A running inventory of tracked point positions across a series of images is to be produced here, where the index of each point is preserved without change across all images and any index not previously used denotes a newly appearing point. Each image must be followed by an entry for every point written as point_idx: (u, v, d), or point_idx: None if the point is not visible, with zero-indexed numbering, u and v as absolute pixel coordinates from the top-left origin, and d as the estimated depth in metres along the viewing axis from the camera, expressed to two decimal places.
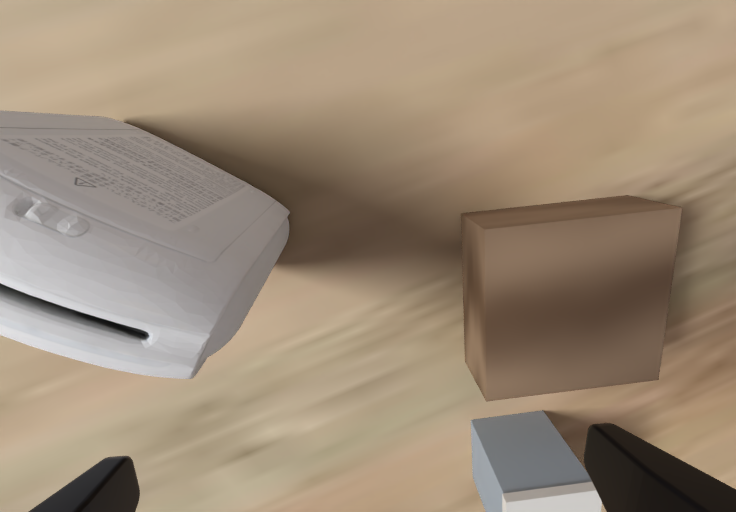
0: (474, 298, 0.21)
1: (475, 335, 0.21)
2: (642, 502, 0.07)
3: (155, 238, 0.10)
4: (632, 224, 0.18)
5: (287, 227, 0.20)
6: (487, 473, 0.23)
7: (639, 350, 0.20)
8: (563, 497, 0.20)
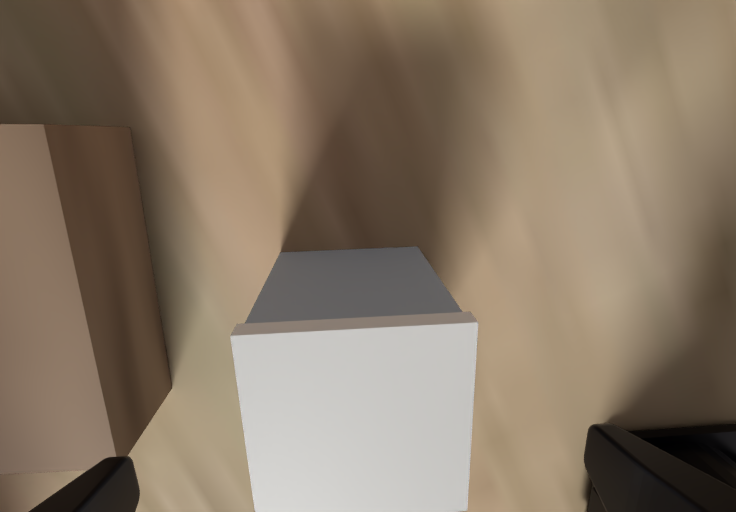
0: None
1: None
2: (642, 502, 0.07)
3: None
4: None
5: None
6: None
7: None
8: (252, 419, 0.08)
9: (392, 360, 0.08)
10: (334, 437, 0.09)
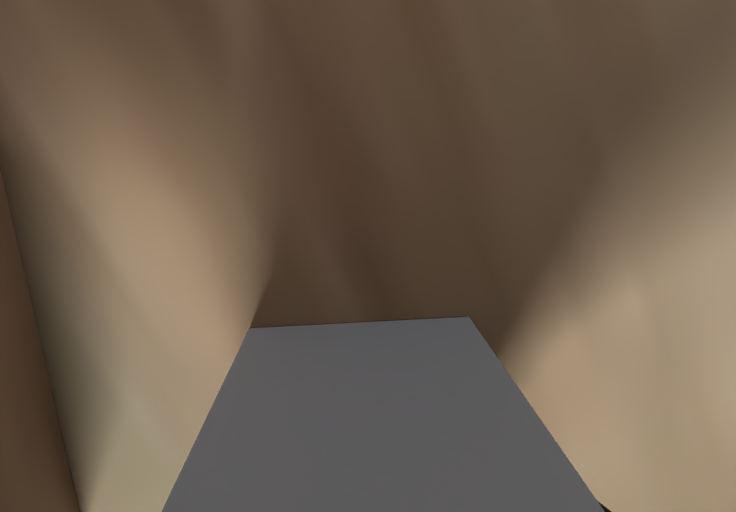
0: None
1: None
2: None
3: None
4: None
5: None
6: None
7: None
8: None
9: None
10: None
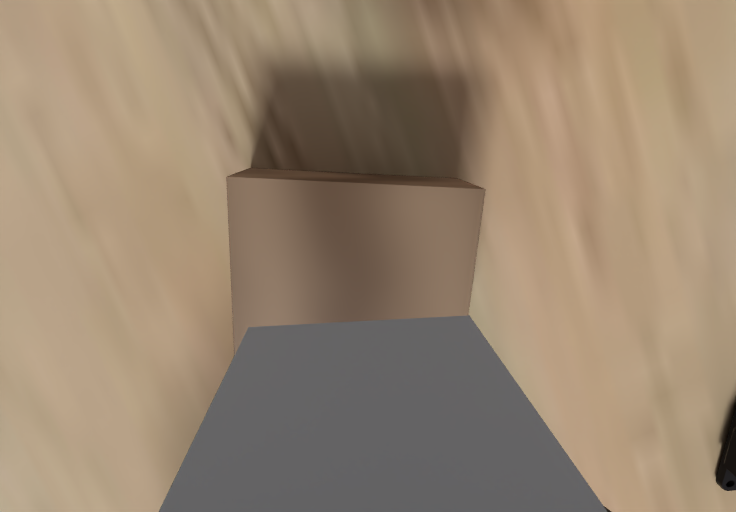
0: None
1: None
2: None
3: None
4: (244, 241, 0.14)
5: None
6: None
7: (429, 220, 0.15)
8: None
9: None
10: None
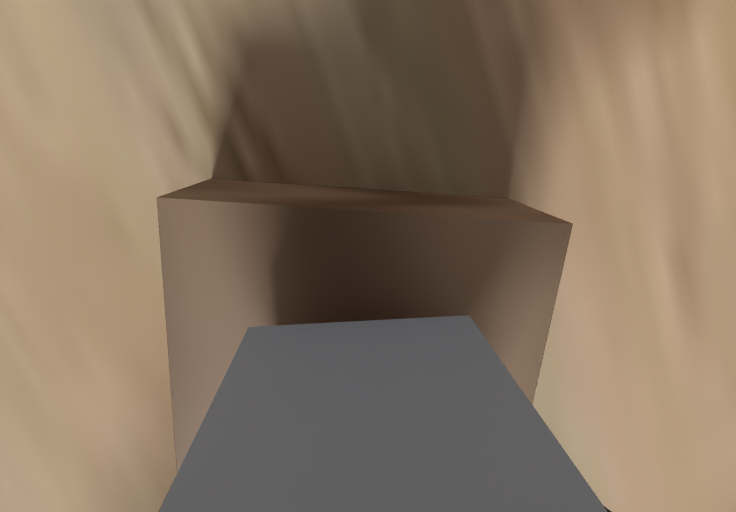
0: None
1: None
2: None
3: None
4: (188, 299, 0.09)
5: None
6: None
7: (482, 270, 0.09)
8: None
9: None
10: None
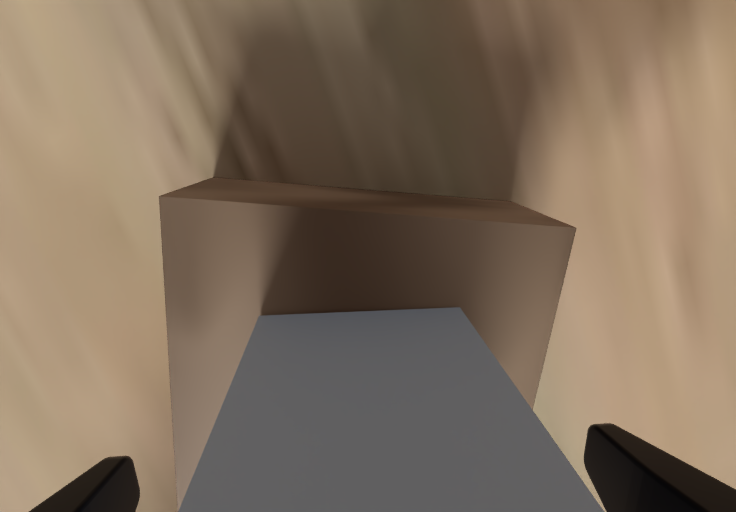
0: None
1: None
2: (642, 502, 0.07)
3: None
4: (189, 299, 0.09)
5: None
6: None
7: (485, 273, 0.09)
8: None
9: None
10: None
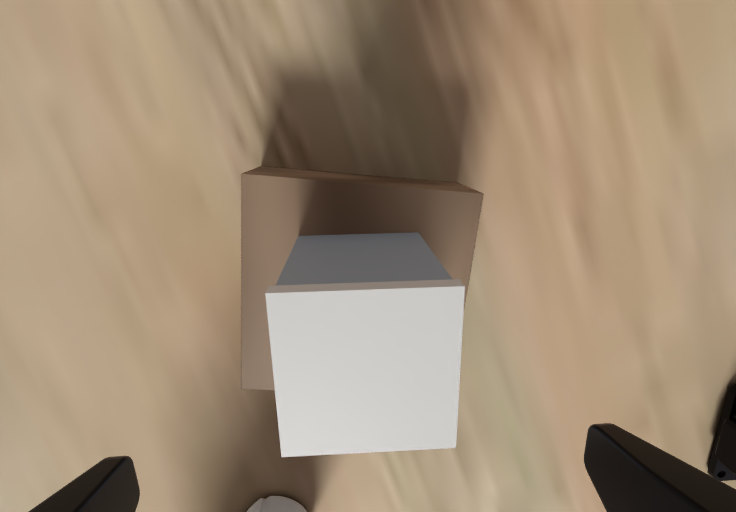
0: None
1: None
2: (642, 502, 0.07)
3: None
4: (255, 235, 0.15)
5: (272, 507, 0.22)
6: None
7: (430, 221, 0.15)
8: (280, 364, 0.10)
9: (394, 316, 0.10)
10: (346, 381, 0.10)
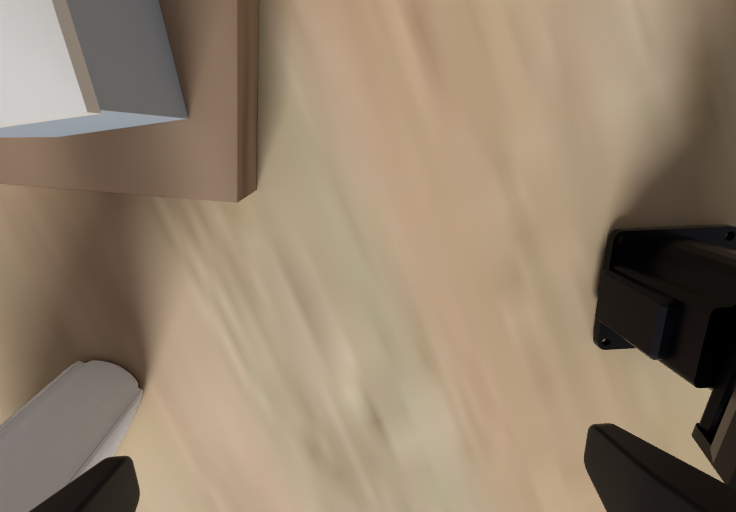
0: None
1: None
2: (642, 502, 0.07)
3: None
4: None
5: (87, 368, 0.20)
6: (26, 132, 0.11)
7: None
8: None
9: None
10: None
